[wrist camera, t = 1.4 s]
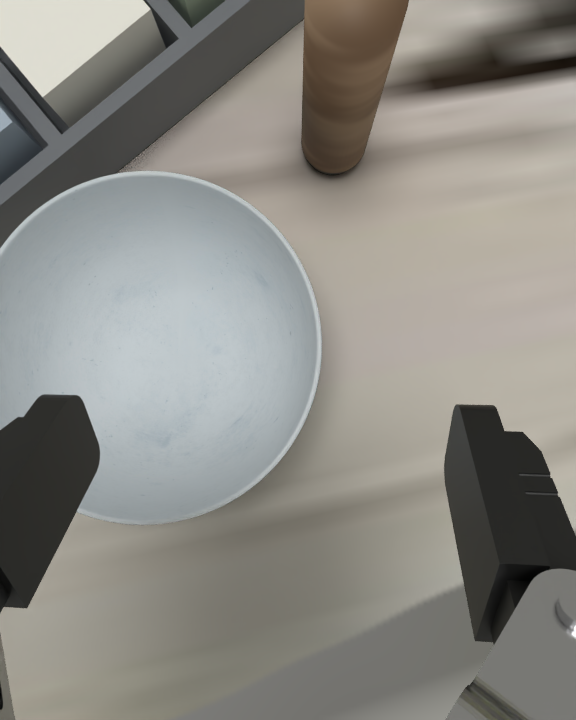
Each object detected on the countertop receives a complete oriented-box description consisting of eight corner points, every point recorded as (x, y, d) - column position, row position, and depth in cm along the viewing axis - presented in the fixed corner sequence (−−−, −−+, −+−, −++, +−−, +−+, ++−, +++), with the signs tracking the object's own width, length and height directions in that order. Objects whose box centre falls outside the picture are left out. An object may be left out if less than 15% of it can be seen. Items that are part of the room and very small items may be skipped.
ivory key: (-2, 42, 28) (-44, -6, 25) (92, -34, 28) (63, -93, 25) (74, 133, 28) (42, 97, 24) (168, 55, 28) (150, 9, 24)
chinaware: (9, 423, 30) (-92, 437, 22) (118, 184, 30) (57, 116, 23) (250, 531, 29) (234, 584, 22) (357, 286, 30) (378, 253, 22)
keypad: (-124, 152, 30) (-196, 112, 26) (216, -125, 31) (202, -211, 26) (-18, 282, 30) (-73, 265, 26) (325, 0, 30) (330, -66, 26)
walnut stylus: (288, 145, 30) (283, -11, 18) (336, 106, 30) (363, -76, 18) (328, 192, 30) (350, 67, 18) (376, 153, 30) (430, 0, 18)
